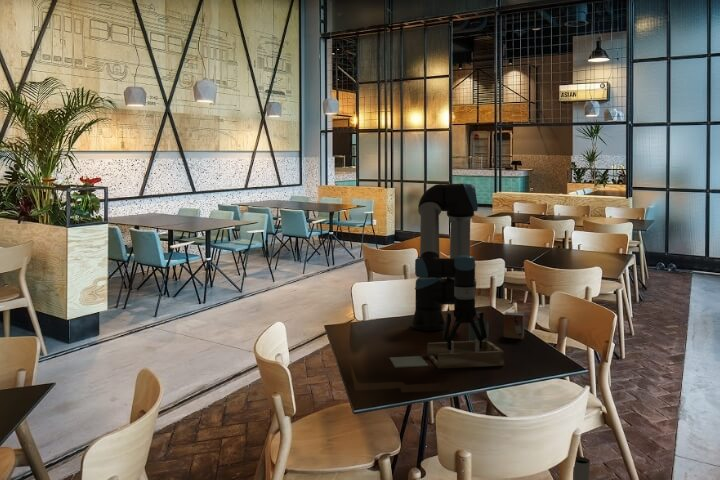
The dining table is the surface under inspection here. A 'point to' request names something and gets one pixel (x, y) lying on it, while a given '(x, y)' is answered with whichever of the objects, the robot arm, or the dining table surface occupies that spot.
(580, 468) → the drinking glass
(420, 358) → the sage tile
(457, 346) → the wooden tray
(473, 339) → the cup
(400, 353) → the dining table surface
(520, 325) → the small box
